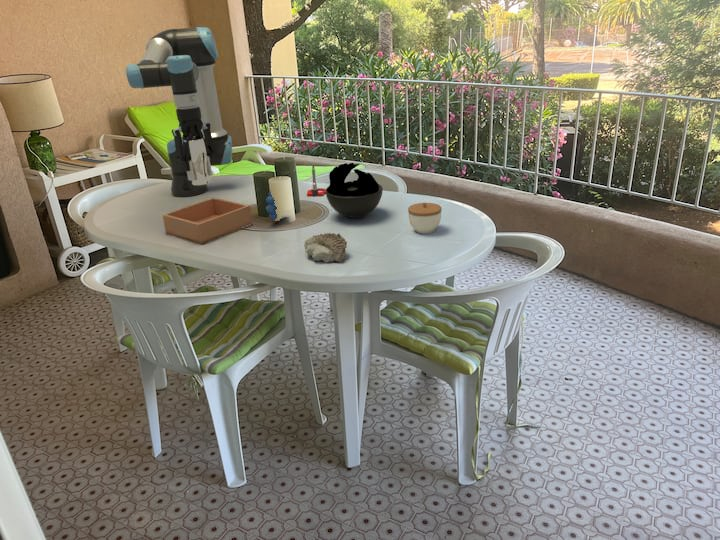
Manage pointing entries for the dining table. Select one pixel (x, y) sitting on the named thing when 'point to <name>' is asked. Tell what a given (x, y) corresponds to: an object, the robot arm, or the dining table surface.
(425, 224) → the lidded jar
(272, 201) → the grapes
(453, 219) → the dining table surface
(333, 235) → the seashell
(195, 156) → the beer glass
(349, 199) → the coal bowl
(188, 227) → the open box
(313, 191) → the tow hook
